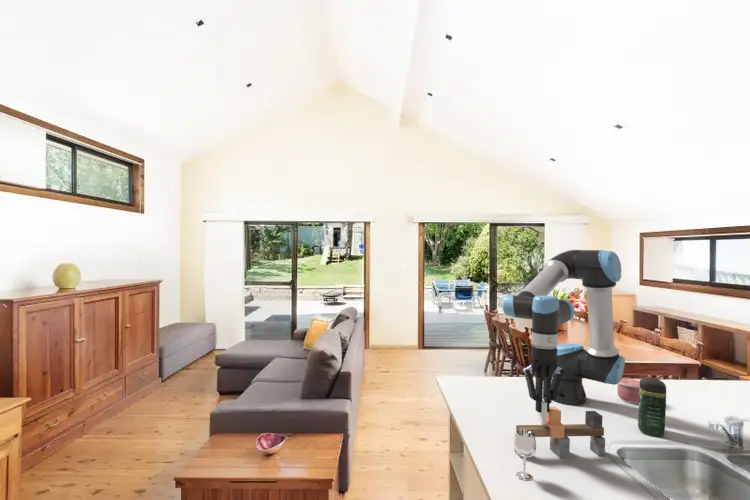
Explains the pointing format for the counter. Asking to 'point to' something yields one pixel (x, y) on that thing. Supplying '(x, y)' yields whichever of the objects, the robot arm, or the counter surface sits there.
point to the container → (629, 390)
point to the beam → (563, 444)
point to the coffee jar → (652, 406)
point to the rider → (555, 423)
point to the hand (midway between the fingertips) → (541, 422)
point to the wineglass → (525, 450)
